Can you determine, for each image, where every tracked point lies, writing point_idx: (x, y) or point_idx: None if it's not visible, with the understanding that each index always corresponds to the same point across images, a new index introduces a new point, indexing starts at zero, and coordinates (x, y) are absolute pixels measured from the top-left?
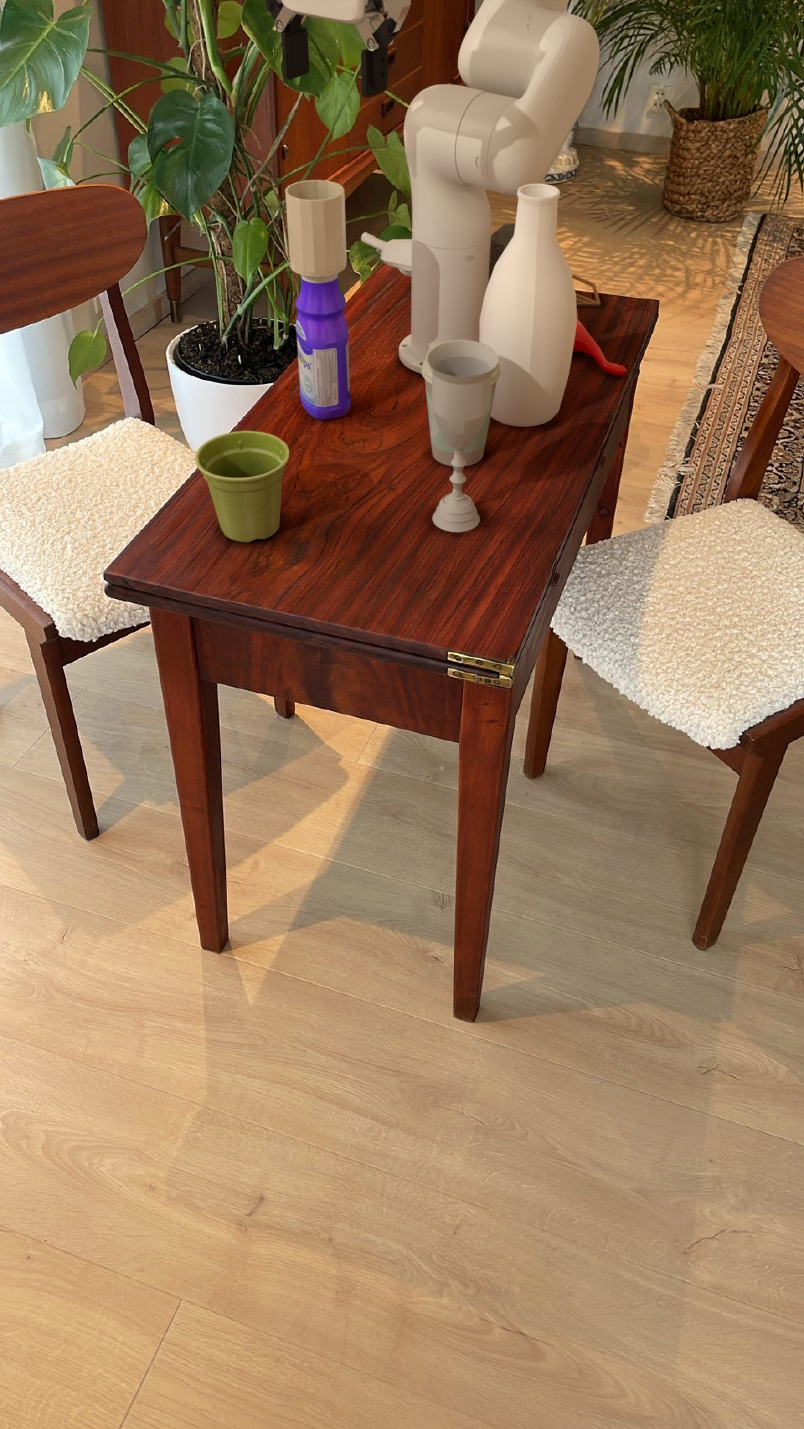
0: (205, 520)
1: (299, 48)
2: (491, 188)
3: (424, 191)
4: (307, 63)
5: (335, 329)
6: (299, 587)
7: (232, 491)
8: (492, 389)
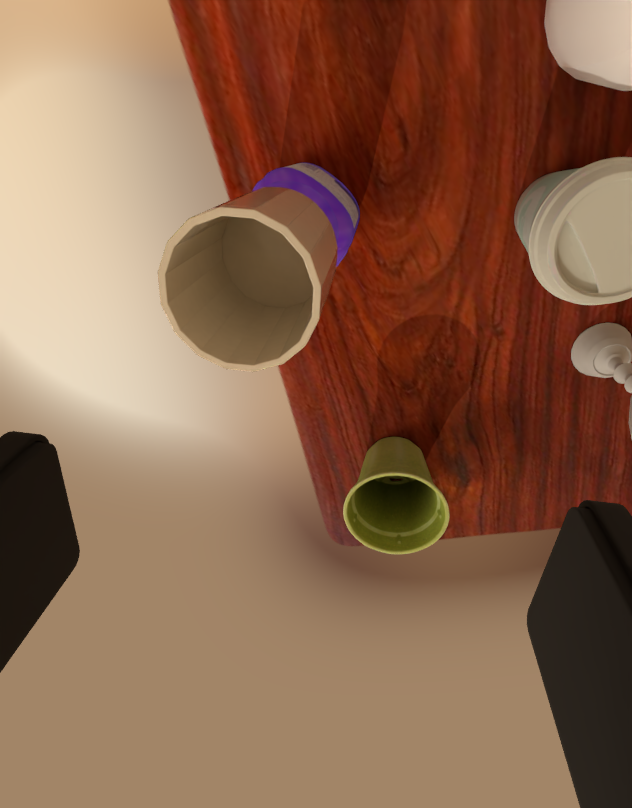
0: (348, 468)
1: None
2: None
3: None
4: (25, 479)
5: (340, 249)
6: (488, 508)
7: (409, 535)
8: None
